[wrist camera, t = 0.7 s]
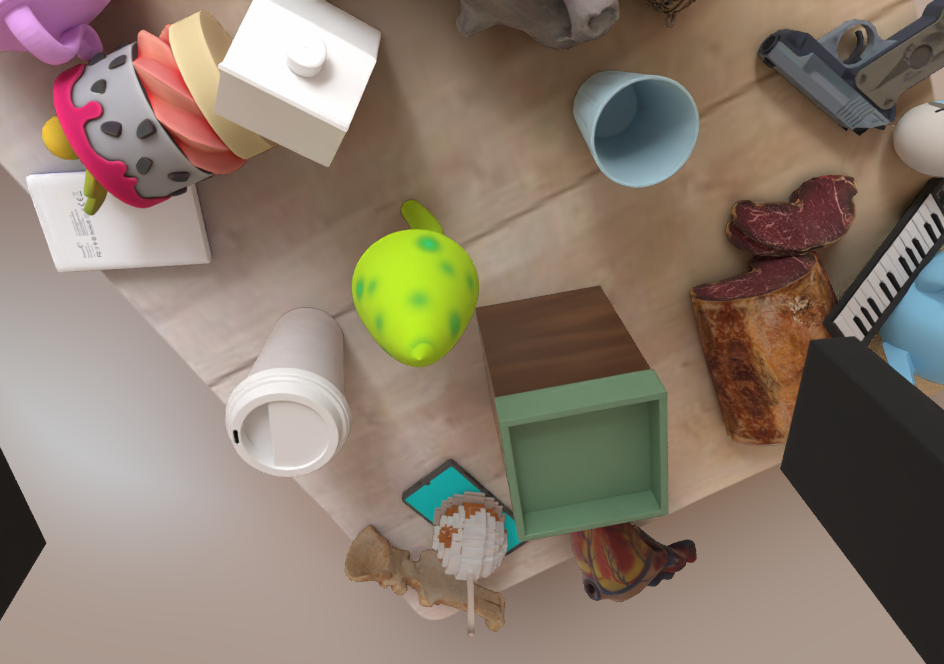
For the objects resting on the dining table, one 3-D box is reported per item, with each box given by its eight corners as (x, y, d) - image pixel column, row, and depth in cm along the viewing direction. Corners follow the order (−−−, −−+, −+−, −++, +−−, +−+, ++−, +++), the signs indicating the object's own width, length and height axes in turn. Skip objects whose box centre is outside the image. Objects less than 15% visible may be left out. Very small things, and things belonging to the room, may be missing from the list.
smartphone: (487, 568, 80) (400, 499, 73) (486, 562, 81) (400, 494, 74) (536, 536, 78) (452, 462, 72) (535, 530, 79) (451, 457, 72)
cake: (216, 4, 50) (38, 88, 51) (179, 4, 41) (-38, 108, 42) (287, 137, 55) (123, 212, 56) (268, 165, 46) (72, 255, 46)
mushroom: (366, 156, 56) (346, 283, 35) (466, 168, 58) (507, 298, 36) (359, 250, 60) (337, 417, 39) (453, 259, 62) (483, 426, 40)
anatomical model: (543, 522, 78) (612, 487, 89) (592, 631, 75) (657, 580, 86) (603, 497, 72) (669, 463, 83) (659, 614, 69) (720, 562, 80)
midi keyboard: (946, 176, 61) (967, 214, 63) (932, 176, 62) (952, 214, 64) (833, 325, 59) (858, 359, 61) (821, 322, 60) (846, 356, 62)
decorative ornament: (439, 484, 74) (435, 604, 61) (509, 492, 74) (520, 612, 62) (429, 533, 78) (424, 656, 65) (496, 540, 78) (504, 662, 66)
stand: (475, 307, 64) (495, 398, 51) (600, 285, 64) (651, 369, 51) (492, 409, 70) (514, 513, 57) (606, 388, 70) (654, 487, 57)
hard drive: (213, 257, 59) (65, 267, 58) (191, 164, 55) (33, 172, 54) (208, 264, 58) (57, 274, 57) (186, 169, 54) (23, 177, 53)
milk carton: (344, 116, 55) (322, 188, 38) (259, 73, 52) (195, 128, 36) (382, 32, 52) (375, 69, 35) (293, -18, 50) (242, -3, 33)
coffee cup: (274, 277, 61) (240, 365, 48) (374, 313, 63) (368, 406, 50) (243, 362, 65) (203, 465, 52) (339, 392, 67) (324, 498, 54)
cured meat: (845, 147, 60) (894, 168, 54) (885, 359, 72) (929, 396, 66) (653, 237, 62) (680, 266, 56) (723, 428, 74) (751, 469, 68)
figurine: (490, 596, 84) (346, 537, 78) (509, 578, 82) (364, 517, 76) (492, 652, 78) (336, 594, 71) (513, 634, 76) (355, 573, 70)
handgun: (882, -91, 49) (765, 58, 53) (991, 25, 54) (875, 154, 58) (861, -89, 51) (750, 54, 55) (967, 23, 56) (858, 147, 60)
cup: (669, 105, 57) (721, 133, 48) (599, 170, 59) (635, 209, 50) (614, 34, 54) (657, 50, 45) (541, 106, 56) (569, 135, 47)
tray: (493, 397, 51) (499, 422, 48) (653, 368, 51) (667, 391, 48) (513, 514, 57) (519, 542, 54) (655, 488, 57) (668, 514, 55)
